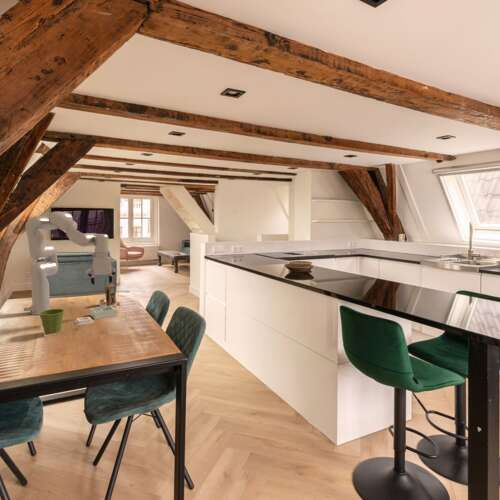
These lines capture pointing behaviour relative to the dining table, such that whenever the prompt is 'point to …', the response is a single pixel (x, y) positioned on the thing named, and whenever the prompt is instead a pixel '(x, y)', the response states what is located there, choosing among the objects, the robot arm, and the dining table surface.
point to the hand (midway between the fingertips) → (101, 283)
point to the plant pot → (52, 320)
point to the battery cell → (103, 305)
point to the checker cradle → (83, 320)
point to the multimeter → (110, 294)
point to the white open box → (102, 312)
